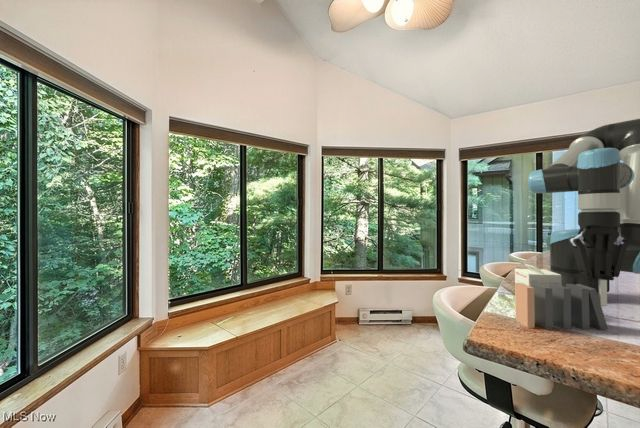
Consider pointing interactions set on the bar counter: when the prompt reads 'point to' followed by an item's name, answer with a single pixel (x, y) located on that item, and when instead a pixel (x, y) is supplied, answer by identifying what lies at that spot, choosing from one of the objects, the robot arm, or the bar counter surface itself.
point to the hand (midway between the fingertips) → (598, 304)
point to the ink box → (536, 276)
